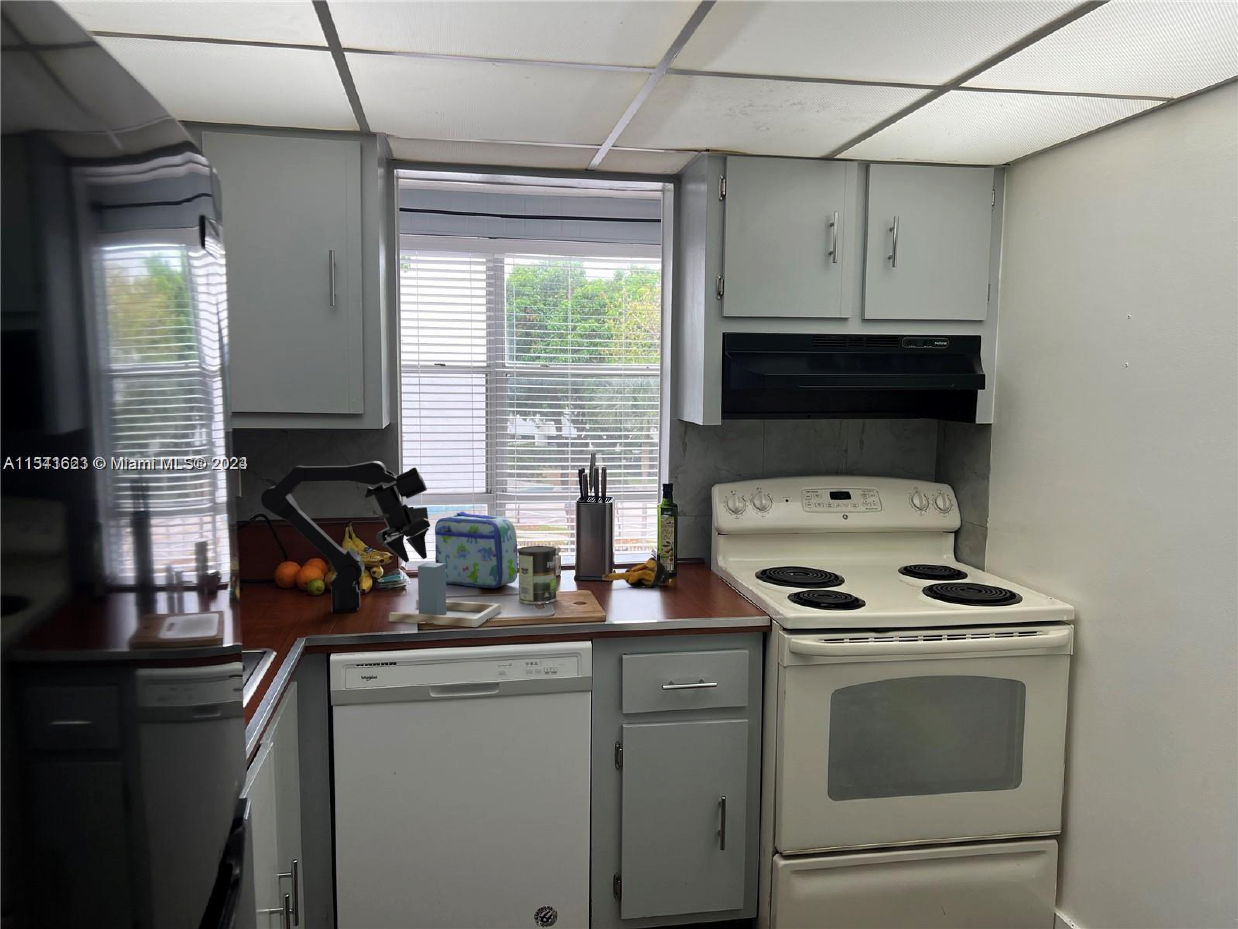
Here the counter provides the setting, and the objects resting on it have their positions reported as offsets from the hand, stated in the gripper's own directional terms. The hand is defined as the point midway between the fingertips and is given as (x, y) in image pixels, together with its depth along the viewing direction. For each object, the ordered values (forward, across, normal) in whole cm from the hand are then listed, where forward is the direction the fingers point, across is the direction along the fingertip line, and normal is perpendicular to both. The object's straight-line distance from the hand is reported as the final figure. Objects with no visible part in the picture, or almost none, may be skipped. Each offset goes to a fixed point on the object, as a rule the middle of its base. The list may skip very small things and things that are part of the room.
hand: (416, 560), depth 228 cm
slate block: (+13, -8, +7) cm, 17 cm away
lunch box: (+18, +14, -21) cm, 31 cm away
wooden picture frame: (+14, -11, +5) cm, 19 cm away
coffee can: (+24, -14, -20) cm, 34 cm away
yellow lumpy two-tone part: (+36, -21, -48) cm, 64 cm away
